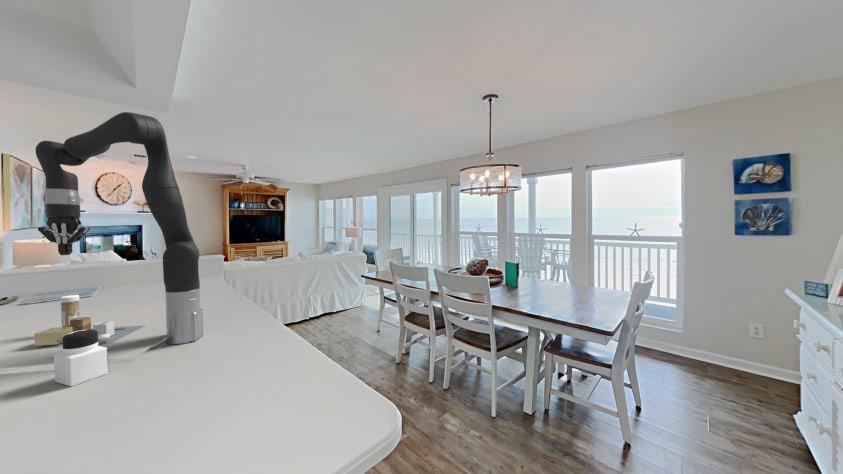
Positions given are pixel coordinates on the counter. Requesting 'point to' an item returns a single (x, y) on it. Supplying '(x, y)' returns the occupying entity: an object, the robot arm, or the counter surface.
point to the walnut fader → (80, 323)
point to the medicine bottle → (80, 358)
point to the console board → (112, 338)
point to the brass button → (51, 336)
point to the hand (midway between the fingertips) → (65, 254)
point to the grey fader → (104, 328)
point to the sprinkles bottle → (69, 309)
